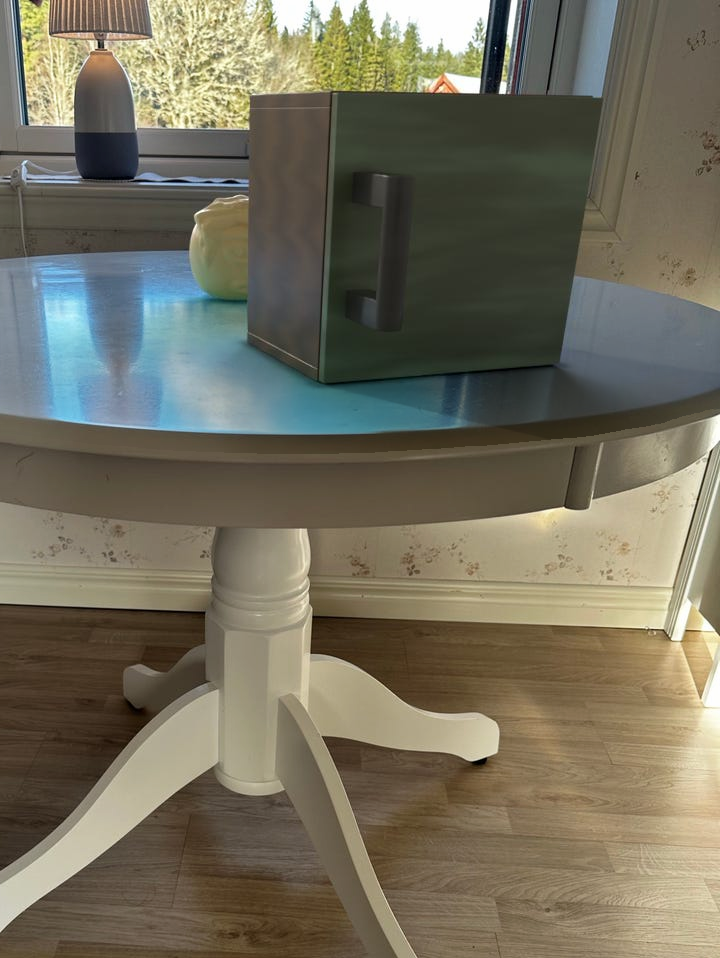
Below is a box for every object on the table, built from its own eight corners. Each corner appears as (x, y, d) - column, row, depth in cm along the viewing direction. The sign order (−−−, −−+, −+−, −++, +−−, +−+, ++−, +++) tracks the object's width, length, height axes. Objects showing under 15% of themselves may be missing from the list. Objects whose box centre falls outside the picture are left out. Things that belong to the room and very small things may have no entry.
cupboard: (550, 362, 82) (593, 95, 73) (316, 381, 75) (330, 90, 66) (452, 328, 95) (478, 98, 86) (246, 342, 89) (249, 94, 79)
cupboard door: (606, 380, 76) (660, 96, 67) (357, 402, 69) (378, 90, 60) (552, 361, 82) (595, 97, 72) (318, 380, 75) (331, 92, 66)
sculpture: (200, 306, 105) (199, 199, 100) (182, 289, 115) (180, 191, 110) (300, 303, 107) (305, 198, 102) (274, 287, 117) (276, 190, 112)
